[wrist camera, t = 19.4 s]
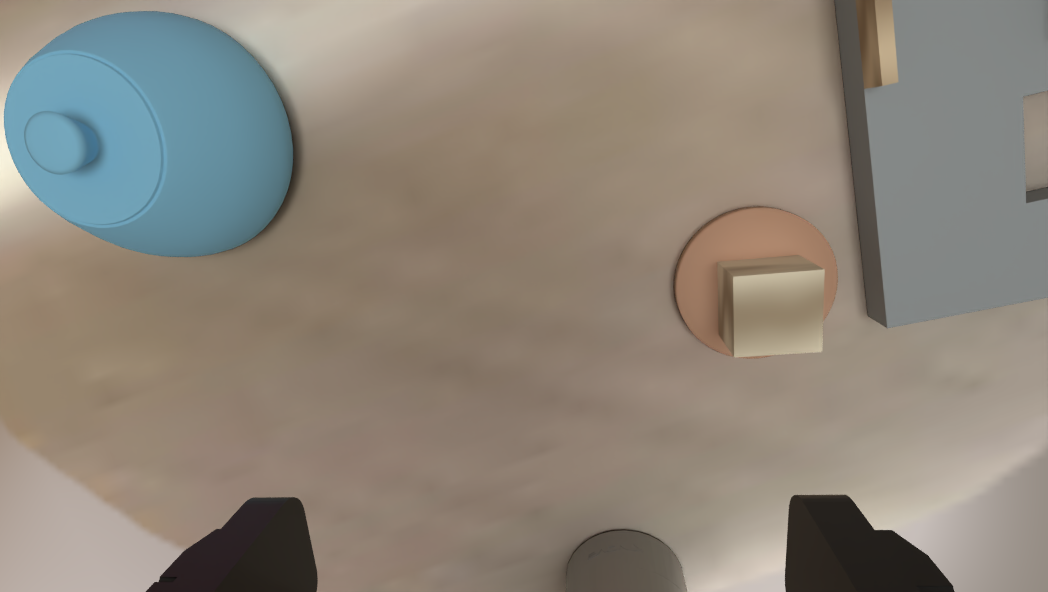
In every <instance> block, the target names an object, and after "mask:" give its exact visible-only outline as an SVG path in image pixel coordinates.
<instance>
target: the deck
mask: <svg viewBox="0 0 1048 592" xmlns="http://www.w3.org/2000/svg"><path fill="white" fill-rule="evenodd" d="M835 8H836V18H837V27H838V37H839V46H840V56H841V65H842V75H843V84H844V94H845V103H846V113H847V122H848V132H849V141H850V151H851V160H852V170H853V179H854V189H855V198H856V208H857V217H858V227H859V236H860V246H861V255H862V265H863V274H864V284H865V293H866V303H867V312H868V316H869V317H870V318H872V319H874V320H875V321H877V322H878V323H880V324H881V325H883V326H885V327H886V328H891V327H896V326H902V325H907V324H912V323H917V322H922V321H928V320H933V319H938V318H943V317H949V316H954V315H959V314H964V313H969V312H975V311H980V310H985V309H990V308H996V307H1001V306H1006V305H1011V304H1017V303H1022V302H1027V301H1032V300H1037V299H1043V298H1048V187H1046V188H1042V189H1037V190H1033V191H1028V192H1026V182H1025V149H1024V116H1023V96H1027V95H1031V94H1035V93H1039V92H1044V91H1048V0H892V8H893V20H894V33H895V45H896V57H897V69H898V81H899V82H897V83H893V84H889V85H885V86H880V87H873V88H867V89H864V82H863V72H862V61H861V51H860V41H859V30H858V20H857V10H856V0H835Z"/></svg>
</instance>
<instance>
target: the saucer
mask: <svg viewBox="0 0 1048 592" xmlns="http://www.w3.org/2000/svg"><path fill="white" fill-rule="evenodd" d="M792 255H800V256H802V257H803V258H805V259H807V260H809V261H811V262H812V263H814V264H816V265H818V266H820V267H821V268H823V269H825V276H824V307H823V321H824V319H825V318H826V316H827V315H828V313H829V311H830V309H831V307H832V304H833V302H834V299H835V295H836V291H837V283H838V272H837V265H836V260H835V257H834V254H833V251H832V249H831V247H830V245H829V243H828V242H827V240H826V239H825V238H824V236H823V235H822V234H821V233H820V232H819V231H818V230H817V229H816V228H815V227H814V226H813V225H812V224H810V223H809V222H808V221H806V220H804V219H802V218H801V217H799V216H797V215H794V214H791V213H789V212H786V211H783V210H781V209H776V208H772V207H761V206H758V207H746V208H740V209H736V210H733V211H729V212H727V213H725V214H722V215H720V216H718V217H716V218H715V219H713V220H711V221H710V222H708V223H707V224H706V225H704V226H703V227H702V228H701V229H700V230H699V231H698V232H697V233H696V234H695V235H694V236H693V237H692V238H691V240H690V241H689V242H688V243H687V245H686V247H685V248H684V250H683V252H682V254H681V256H680V258H679V261H678V264H677V267H676V272H675V278H674V291H675V299H676V302H677V306H678V309H679V311H680V313H681V315H682V317H683V319H684V321H685V322H686V324H687V326H688V327H689V329H690V330H691V331H692V333H693V334H694V335H695V336H696V337H697V338H698V339H699V340H700V341H701V342H703V343H704V344H705V345H707V346H708V347H710V348H712V349H714V350H716V351H717V352H720V353H723V354H725V355H729V356H733V355H732V354H731V352H730V351H729V349H728V348H727V346H726V345H725V343H724V342H723V340H722V339H721V338H720V336H719V326H718V274H717V262H720V261H732V260H744V259H756V258H768V257H780V256H792ZM769 356H773V355H766V356H750V357H738V358H763V357H769Z"/></svg>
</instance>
